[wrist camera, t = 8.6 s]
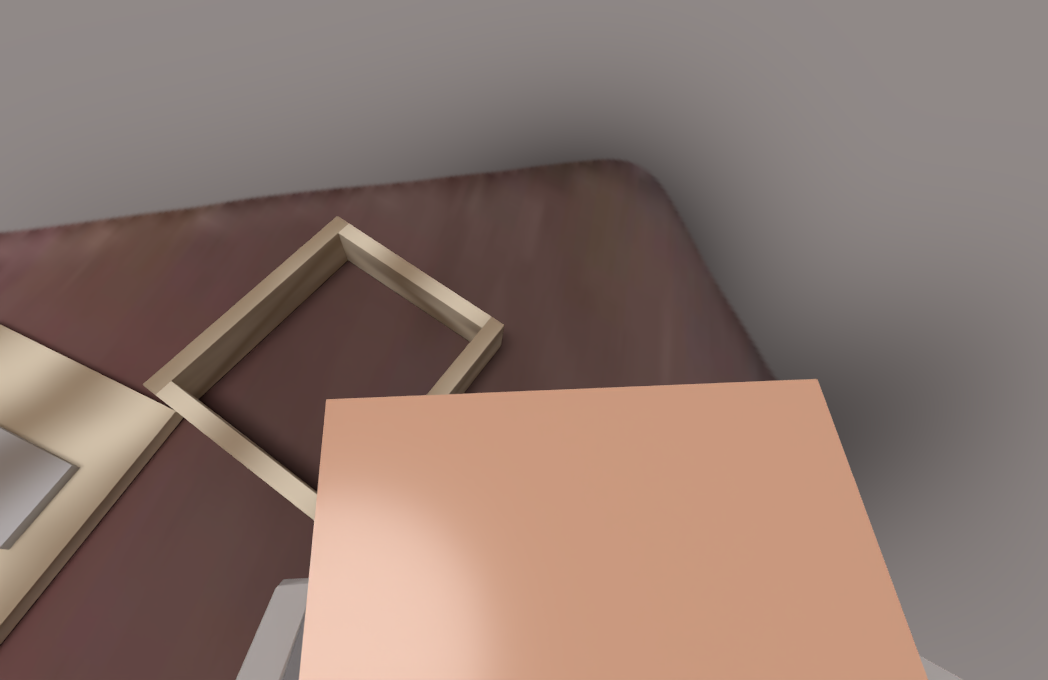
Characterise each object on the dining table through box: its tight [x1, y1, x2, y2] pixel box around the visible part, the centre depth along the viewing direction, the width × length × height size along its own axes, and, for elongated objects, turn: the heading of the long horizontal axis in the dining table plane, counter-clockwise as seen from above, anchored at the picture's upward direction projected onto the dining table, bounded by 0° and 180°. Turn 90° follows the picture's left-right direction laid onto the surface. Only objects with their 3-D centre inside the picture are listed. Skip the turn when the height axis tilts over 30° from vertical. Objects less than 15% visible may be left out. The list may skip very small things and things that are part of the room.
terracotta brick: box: [299, 379, 928, 680], centre depth 8 cm, size 4×4×10 cm
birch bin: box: [143, 216, 504, 521], centre depth 24 cm, size 11×12×2 cm
